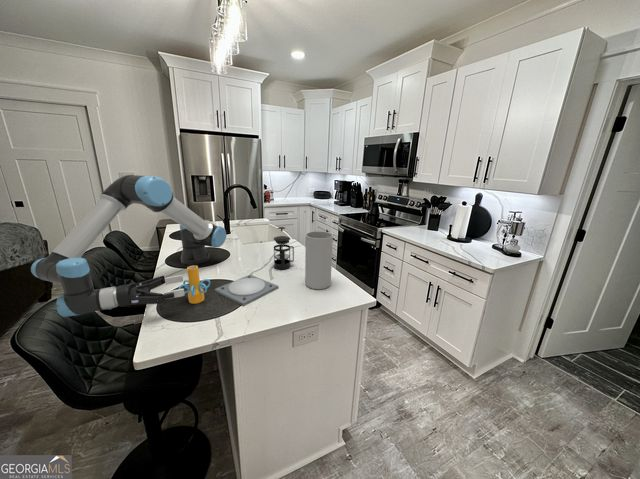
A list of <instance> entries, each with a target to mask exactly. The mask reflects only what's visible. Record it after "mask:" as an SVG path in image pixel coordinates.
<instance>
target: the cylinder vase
mask: <svg viewBox="0 0 640 479" xmlns="http://www.w3.org/2000/svg"><path fill="white" fill-rule="evenodd" d="M333 238H334V235H333V233H330V232H328V231H320V230H319V231H318V230H317V231H309V232H306V233H305V256H304V257H305V260H304V261H305V262H304V263H305V265H304V267H305V270H304V272H305V273H304V275H305V277H304V278H305V279H304V281H305V282H304V284H305V286H307V287H308V288H309V289H313V290H324V289H327V288H330V287H331V284H332V268H333V267H332V265H333V264H332V263H333V262H332V261H333Z"/></svg>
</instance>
